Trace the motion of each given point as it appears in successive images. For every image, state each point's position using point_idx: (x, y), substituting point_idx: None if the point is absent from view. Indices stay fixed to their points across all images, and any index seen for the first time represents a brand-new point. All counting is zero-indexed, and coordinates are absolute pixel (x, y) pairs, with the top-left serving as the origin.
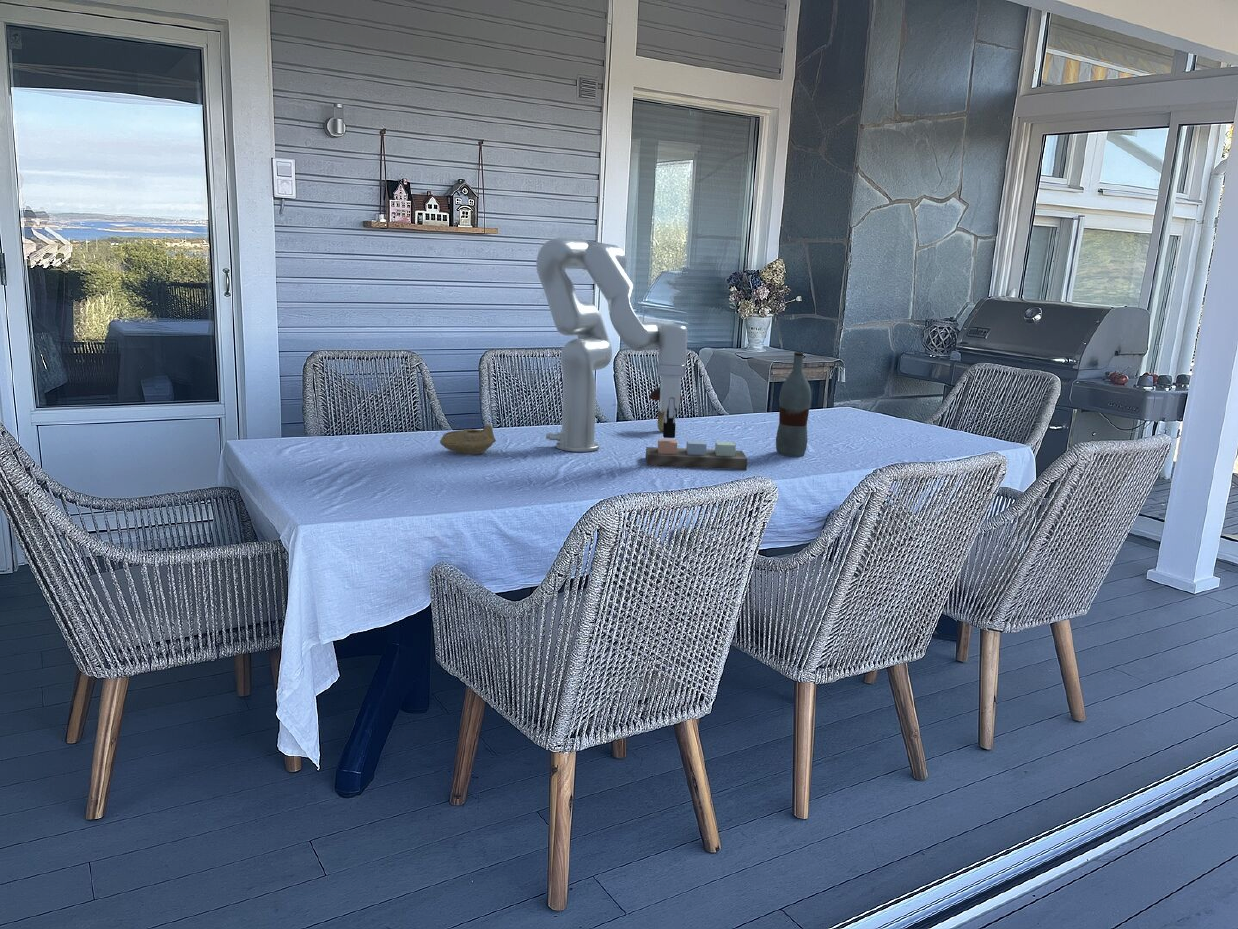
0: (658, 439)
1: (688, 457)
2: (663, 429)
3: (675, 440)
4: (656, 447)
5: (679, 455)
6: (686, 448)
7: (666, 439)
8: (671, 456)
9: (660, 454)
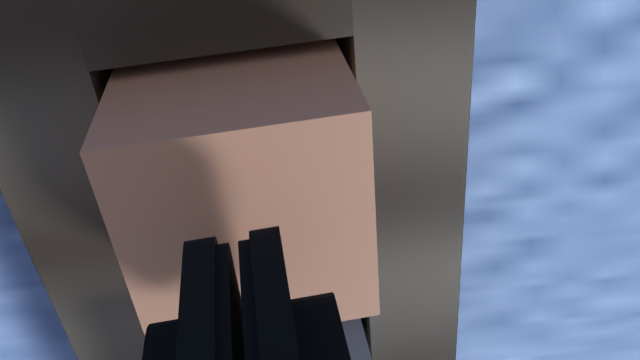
0: (328, 120)
1: (80, 355)
2: (207, 324)
3: None
4: (469, 27)
5: (90, 293)
6: (349, 334)
7: (360, 219)
8: (21, 228)
9: (39, 113)
